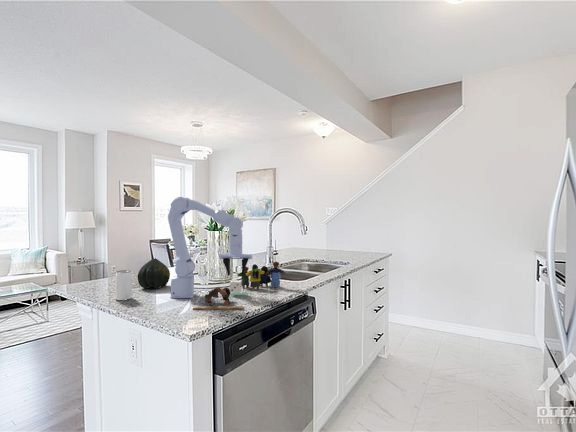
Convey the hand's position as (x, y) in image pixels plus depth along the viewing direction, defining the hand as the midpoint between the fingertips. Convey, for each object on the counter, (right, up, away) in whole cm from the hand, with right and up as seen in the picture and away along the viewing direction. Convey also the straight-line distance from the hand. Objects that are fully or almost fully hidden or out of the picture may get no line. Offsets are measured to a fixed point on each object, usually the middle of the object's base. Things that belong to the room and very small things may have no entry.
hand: (235, 275), depth 146 cm
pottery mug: (-4, -10, -13) cm, 17 cm away
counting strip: (-4, -10, -20) cm, 22 cm away
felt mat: (+2, -9, +1) cm, 10 cm away
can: (-47, -10, -5) cm, 49 cm away
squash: (-44, -9, +17) cm, 48 cm away
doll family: (+10, -10, +15) cm, 21 cm away
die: (0, -7, 0) cm, 7 cm away
